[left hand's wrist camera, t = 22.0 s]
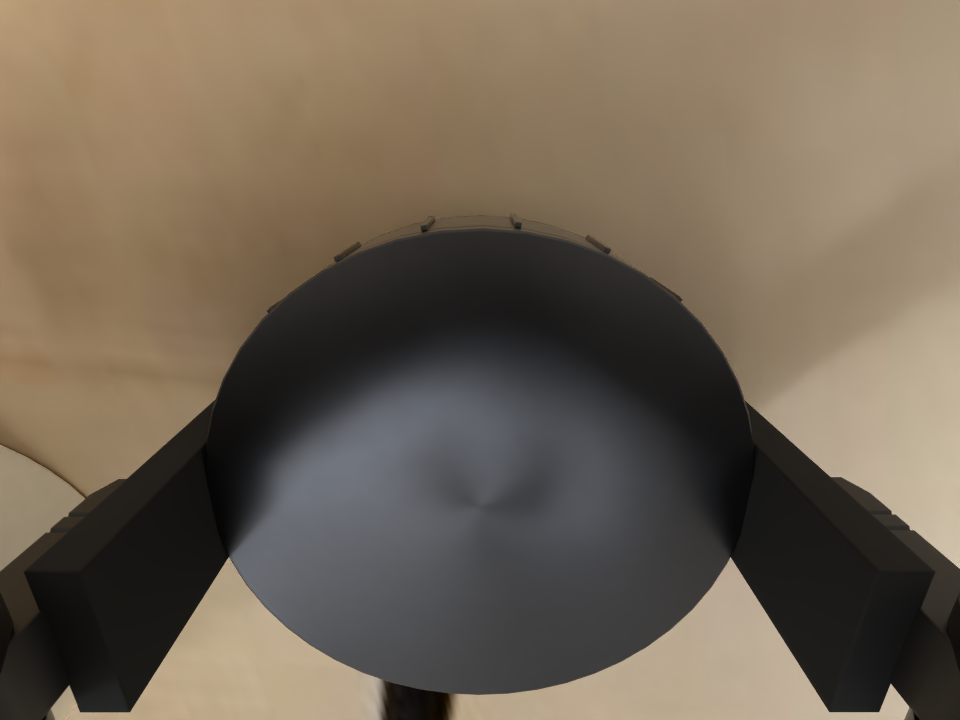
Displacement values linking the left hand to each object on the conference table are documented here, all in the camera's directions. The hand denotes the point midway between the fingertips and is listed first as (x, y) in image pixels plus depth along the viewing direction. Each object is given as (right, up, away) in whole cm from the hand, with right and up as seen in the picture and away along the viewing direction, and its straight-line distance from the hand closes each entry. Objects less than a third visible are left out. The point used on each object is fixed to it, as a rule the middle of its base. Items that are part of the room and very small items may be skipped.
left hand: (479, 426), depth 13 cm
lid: (0, -1, -3) cm, 3 cm away
